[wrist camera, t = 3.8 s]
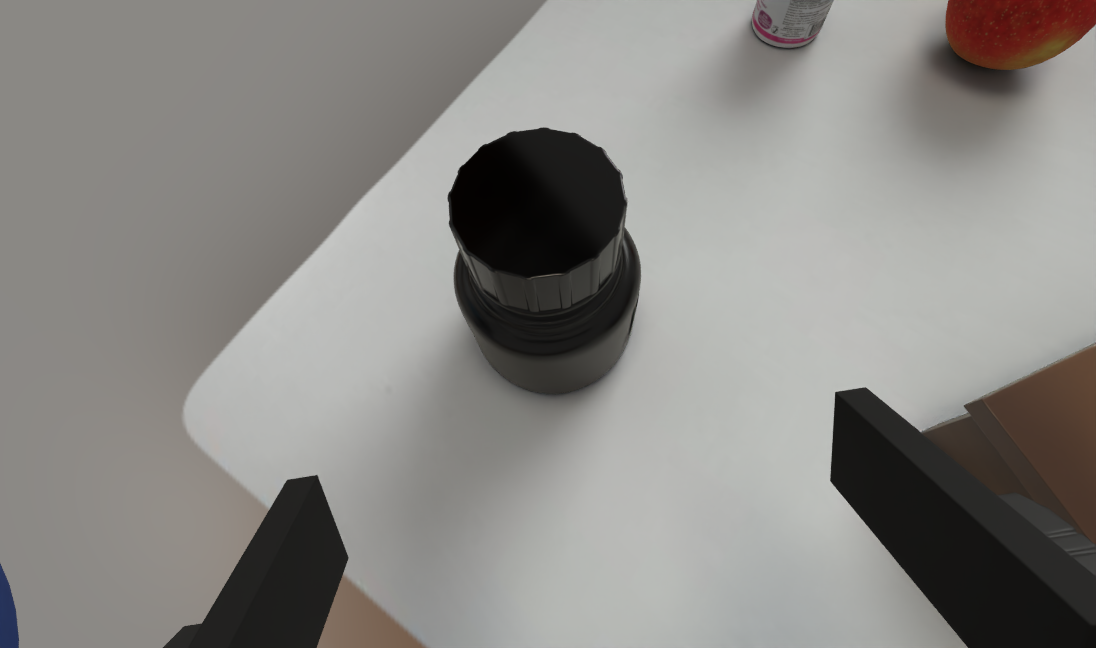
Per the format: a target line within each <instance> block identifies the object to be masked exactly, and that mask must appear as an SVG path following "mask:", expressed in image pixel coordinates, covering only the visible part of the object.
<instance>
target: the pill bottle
mask: <svg viewBox="0 0 1096 648" xmlns="http://www.w3.org/2000/svg"><path fill="white" fill-rule="evenodd" d="M832 3H833V0H757V2H756V6H755V9H754V12H753V16H752V26H753V29H754V31H755V33H756V34H757V36H758V37H759V38H760V39H762V40H763V41H764V42H766V43H768V44H770V45H773V46H777V47H785V48H792V47H799V46H803V45H805V44H807V43H809V42H810V41H812V40H813V39H814V38H815V37H816V36H817V34H818V33H819V31H820V29H821V27H822V25H823V23H824V21H825V19H826V16H827V14H828V12H829V9H830V7H831V5H832Z"/></svg>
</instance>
